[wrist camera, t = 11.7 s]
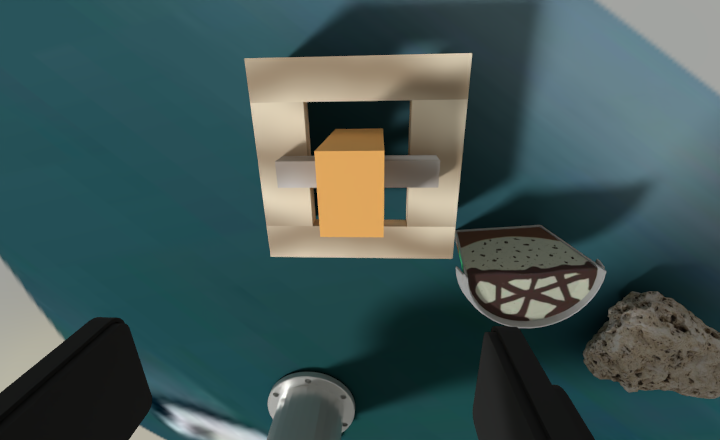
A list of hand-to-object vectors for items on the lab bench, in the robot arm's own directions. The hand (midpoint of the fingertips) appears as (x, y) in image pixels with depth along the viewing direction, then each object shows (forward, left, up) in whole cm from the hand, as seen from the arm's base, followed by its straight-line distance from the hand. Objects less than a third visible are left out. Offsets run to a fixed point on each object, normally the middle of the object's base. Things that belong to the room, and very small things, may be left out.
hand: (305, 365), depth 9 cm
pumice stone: (-21, -33, -29) cm, 49 cm away
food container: (-11, -15, -29) cm, 34 cm away
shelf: (+1, 0, -28) cm, 28 cm away
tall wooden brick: (+1, 0, -22) cm, 22 cm away
